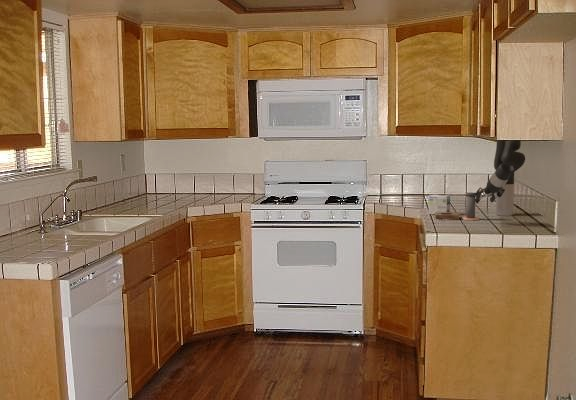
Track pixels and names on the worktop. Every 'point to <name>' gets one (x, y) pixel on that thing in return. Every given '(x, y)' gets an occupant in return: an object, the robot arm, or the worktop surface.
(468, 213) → the plug
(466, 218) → the orange round disc
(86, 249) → the worktop surface
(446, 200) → the light bulb box
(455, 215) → the brown wooden square frame
